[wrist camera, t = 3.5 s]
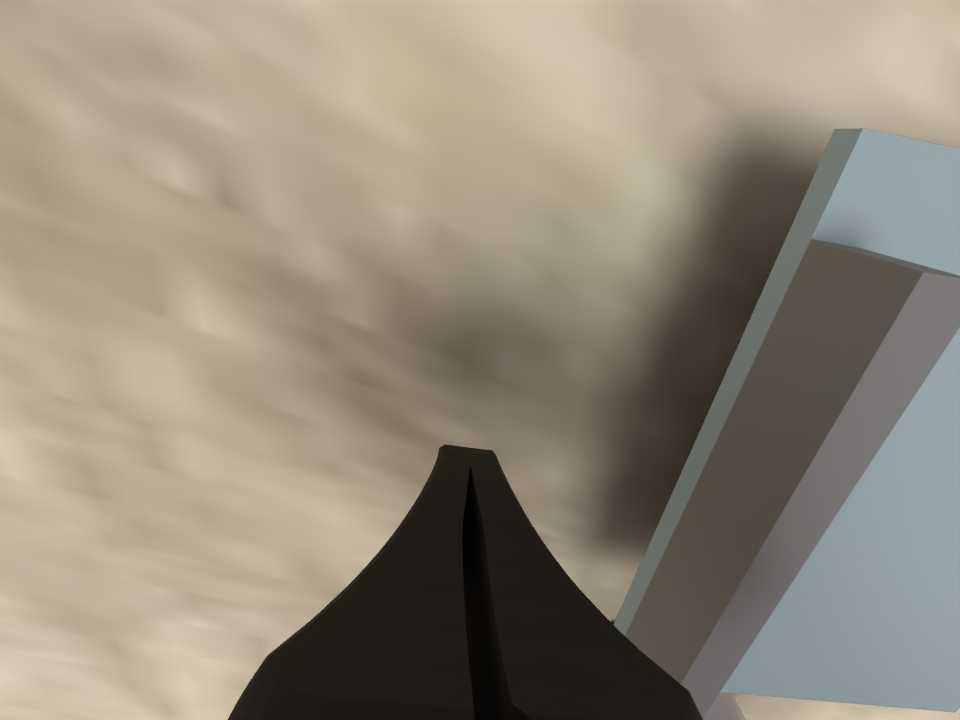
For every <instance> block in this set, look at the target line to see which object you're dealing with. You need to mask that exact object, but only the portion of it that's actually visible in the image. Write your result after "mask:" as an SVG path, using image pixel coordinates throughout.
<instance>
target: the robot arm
mask: <svg viewBox="0 0 960 720" xmlns="http://www.w3.org/2000/svg"><path fill="white" fill-rule="evenodd" d="M228 720H745V718H744V715H743V713H742V711H741V709H740V707H739V705H738V703H737V701H736V698H735V696H734V694H733V693H727V692H720V693H719V695H718V696H717V698H716V699H715V701H714V702H713V704H712V705H711V707H710V708H709V710H708V711H707V713H706V714H705V716H704V717H703V718H702V716H701V714H700V712H699V710H698V708H697V706H696V704H695V702H694V700H693V698H692V696H691V694H690V692H689V691H688V690H687V689H686V688H685V687H683V686H682V685H681V684H680V683H679V682H677V681H676V680H675V679H674V678H673V677H671V676H670V675H669V674H668V673H667V672H665V671H664V670H663V669H662V668H661V667H659V666H658V665H657V664H656V663H655V662H653V661H652V660H651V659H650V658H649V657H647V656H646V655H645V654H644V653H643V652H642V651H641V650H639V649H638V648H637V647H636V646H635V645H634V644H633V643H632V642H631V641H630V640H629V639H628V638H627V637H625V636H624V635H623V634H622V633H621V632H620V631H619V630H618V629H617V628H616V627H615V626H614V625H613V624H612V623H611V622H610V621H609V620H608V619H607V618H606V617H605V616H604V615H603V614H602V613H601V612H600V611H599V610H598V609H597V608H596V606H595V605H594V604H593V603H592V602H591V601H590V600H589V599H588V598H587V597H586V596H585V595H584V594H583V592H582V591H581V590H580V589H579V588H578V587H577V586H576V585H575V583H574V582H573V581H572V580H571V579H570V577H569V576H568V575H567V574H566V572H565V571H564V570H563V568H562V567H561V566H560V565H559V563H558V562H557V561H556V559H555V558H554V557H553V555H552V554H551V553H550V551H549V550H548V548H547V547H546V545H545V544H544V543H543V541H542V540H541V538H540V537H539V535H538V534H537V532H536V530H535V529H534V527H533V526H532V524H531V523H530V521H529V519H528V518H527V516H526V514H525V513H524V511H523V509H522V507H521V505H520V504H519V502H518V500H517V498H516V497H515V495H514V493H513V491H512V489H511V487H510V485H509V483H508V481H507V479H506V477H505V475H504V473H503V471H502V468H501V466H500V464H499V462H498V459H497V457H496V455H495V453H494V452H493V451H491V450H483V449H475V448H467V447H459V446H452V445H443V446H442V447H440V448H439V454H438V457H437V460H436V463H435V466H434V468H433V470H432V472H431V474H430V477H429V479H428V480H427V482H426V484H425V486H424V488H423V490H422V491H421V493H420V495H419V497H418V498H417V500H416V502H415V503H414V505H413V506H412V508H411V509H410V511H409V512H408V514H407V515H406V517H405V518H404V520H403V521H402V523H401V524H400V526H399V527H398V528H397V530H396V531H395V532H394V534H393V535H392V536H391V538H390V539H389V540H388V541H387V543H386V544H385V545H384V546H383V548H382V549H381V550H380V551H379V552H378V554H377V555H376V556H375V557H374V558H373V559H372V560H371V562H370V563H369V564H368V565H367V566H366V567H365V568H364V569H363V570H362V572H361V573H360V574H359V575H358V576H357V577H356V578H355V579H354V580H353V581H352V582H351V583H350V584H349V585H348V586H347V587H346V588H345V589H344V590H343V591H342V592H341V593H340V594H339V595H338V596H337V597H336V598H334V599H333V600H332V601H331V602H330V603H329V604H328V605H327V606H326V607H325V608H324V609H323V610H322V611H321V612H320V613H319V614H317V615H316V616H315V617H314V618H313V619H312V620H311V621H309V622H308V623H307V624H306V625H305V626H303V627H302V628H301V629H300V630H298V631H297V632H296V633H295V634H293V635H292V636H291V637H290V638H289V639H287V640H286V641H285V642H284V643H282V644H281V645H280V646H279V647H277V648H276V649H275V650H274V651H273V652H271V653H270V654H269V655H268V656H267V657H266V658H265V660H264V661H263V663H262V664H261V666H260V667H259V669H258V670H257V672H256V673H255V675H254V676H253V678H252V679H251V681H250V682H249V684H248V685H247V687H246V689H245V690H244V692H243V693H242V695H241V697H240V698H239V700H238V702H237V704H236V705H235V707H234V709H233V711H232V713H231V714H230V716H229V718H228Z"/></svg>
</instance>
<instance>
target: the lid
mask: <svg viewBox="0 0 960 720" xmlns="http://www.w3.org/2000/svg"><path fill="white" fill-rule="evenodd" d="M614 626H615V627H616V628H617V629H618V630H619V631H620V632H621V633H622V634H623V635H624V636H625V637H627V638H628V639H629V640H630V641H631V642H632V643H633V644H634V645H635V646H636V647H637V648H638V649H639V650H641V651H642V652H643V653H644V654H645V655H646V656H647V657H649V658H650V659H651V660H652V661H653V662H655V663H656V664H657V665H658V666H659V667H661V668H662V669H663V670H664V671H665V672H667V673H668V674H669V675H670V676H671V677H673V678H674V679H675V680H676V681H677V682H679V683H680V684H681V685H682V686H683V687H685V688H686V689H687V690H688V691H689V692H690V694H691V696H692V698H693V700H694V702H695V704H696V706H697V708H698V710H699V712H700V714H701V716H702V718H703V717H704V716H705V714H706V713H707V711H708V710H709V708H710V707H711V705H712V704H713V702H714V701H715V699H716V698H717V696H718V695H719V693H720V692H727V693H738V694H750V695H761V696H773V697H784V698H796V699H807V700H819V701H830V702H841V703H853V704H864V705H876V706H887V707H899V708H910V709H922V710H933V711H945V712H956V711H957V710H958V709H959V708H960V149H959V148H954V147H949V146H944V145H939V144H935V143H930V142H925V141H920V140H915V139H911V138H906V137H901V136H896V135H891V134H887V133H882V132H877V131H872V130H867V129H835V130H834V132H833V134H832V136H831V138H830V141H829V143H828V145H827V147H826V150H825V152H824V154H823V156H822V159H821V161H820V163H819V165H818V168H817V170H816V172H815V174H814V177H813V179H812V181H811V183H810V186H809V188H808V190H807V192H806V194H805V197H804V199H803V201H802V203H801V206H800V208H799V210H798V212H797V215H796V217H795V219H794V221H793V224H792V226H791V228H790V230H789V233H788V235H787V237H786V239H785V242H784V244H783V246H782V248H781V251H780V253H779V255H778V257H777V259H776V262H775V264H774V266H773V268H772V271H771V273H770V275H769V277H768V280H767V282H766V284H765V286H764V289H763V291H762V293H761V295H760V298H759V300H758V302H757V304H756V307H755V309H754V311H753V313H752V315H751V318H750V320H749V322H748V324H747V327H746V329H745V331H744V333H743V336H742V338H741V340H740V342H739V345H738V347H737V349H736V351H735V354H734V356H733V358H732V360H731V363H730V365H729V367H728V369H727V371H726V374H725V376H724V378H723V380H722V383H721V385H720V387H719V389H718V392H717V394H716V396H715V398H714V401H713V403H712V405H711V407H710V410H709V412H708V414H707V416H706V419H705V421H704V423H703V425H702V428H701V430H700V432H699V434H698V436H697V439H696V441H695V443H694V445H693V448H692V450H691V452H690V454H689V457H688V459H687V461H686V463H685V466H684V468H683V470H682V472H681V475H680V477H679V479H678V481H677V484H676V486H675V488H674V490H673V492H672V495H671V497H670V499H669V501H668V504H667V506H666V508H665V510H664V513H663V515H662V517H661V519H660V522H659V524H658V526H657V528H656V531H655V533H654V535H653V537H652V540H651V542H650V544H649V546H648V549H647V551H646V553H645V555H644V557H643V560H642V562H641V564H640V566H639V569H638V571H637V573H636V575H635V578H634V580H633V582H632V584H631V587H630V589H629V591H628V593H627V596H626V598H625V600H624V602H623V605H622V607H621V609H620V611H619V613H618V616H617V618H616V620H615V622H614Z"/></svg>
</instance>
